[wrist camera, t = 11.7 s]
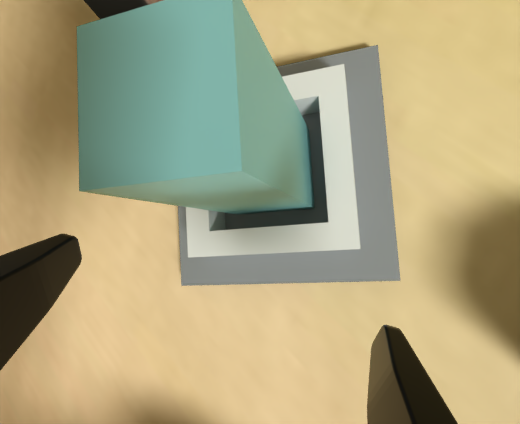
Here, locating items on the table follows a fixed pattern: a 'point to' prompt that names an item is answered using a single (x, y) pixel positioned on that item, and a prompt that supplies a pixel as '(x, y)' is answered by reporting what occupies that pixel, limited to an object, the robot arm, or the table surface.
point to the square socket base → (325, 193)
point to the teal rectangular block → (189, 111)
